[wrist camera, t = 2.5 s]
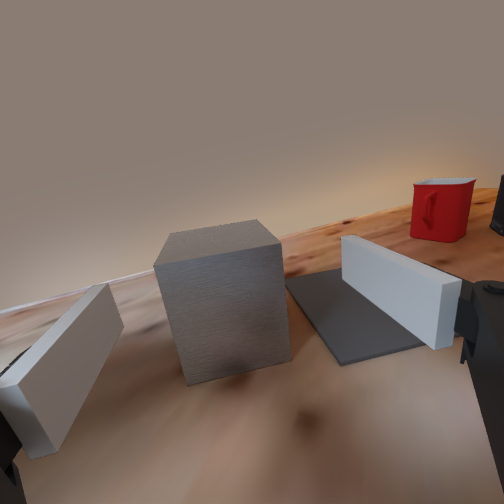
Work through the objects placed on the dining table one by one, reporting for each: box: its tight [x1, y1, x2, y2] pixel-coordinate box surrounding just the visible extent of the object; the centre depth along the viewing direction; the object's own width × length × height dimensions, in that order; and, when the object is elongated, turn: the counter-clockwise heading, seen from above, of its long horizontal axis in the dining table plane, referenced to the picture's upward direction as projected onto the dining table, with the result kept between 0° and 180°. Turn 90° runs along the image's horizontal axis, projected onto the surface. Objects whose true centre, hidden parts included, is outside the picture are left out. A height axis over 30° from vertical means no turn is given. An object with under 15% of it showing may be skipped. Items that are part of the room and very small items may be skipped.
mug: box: [410, 178, 477, 242], centre depth 47 cm, size 12×8×11 cm
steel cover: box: [153, 219, 292, 386], centre depth 26 cm, size 10×10×12 cm
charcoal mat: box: [285, 268, 461, 366], centre depth 32 cm, size 14×18×1 cm
